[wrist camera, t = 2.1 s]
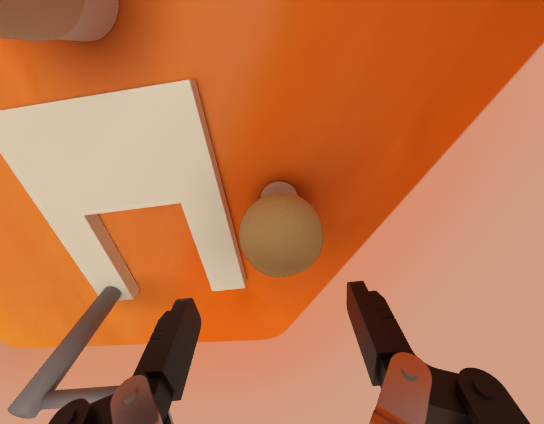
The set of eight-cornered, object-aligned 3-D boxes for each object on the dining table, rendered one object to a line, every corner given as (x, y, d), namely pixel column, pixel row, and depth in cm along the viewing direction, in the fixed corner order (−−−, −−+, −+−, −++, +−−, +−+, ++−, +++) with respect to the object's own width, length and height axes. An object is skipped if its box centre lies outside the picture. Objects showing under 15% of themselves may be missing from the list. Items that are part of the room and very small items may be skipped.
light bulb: (264, 230, 27) (261, 304, 18) (236, 182, 24) (215, 241, 15) (319, 208, 25) (343, 277, 17) (295, 154, 23) (309, 202, 14)
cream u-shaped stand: (195, 79, 20) (75, 79, 8) (246, 278, 30) (229, 408, 18) (-6, 112, 21) (-377, 156, 9) (110, 292, 31) (11, 422, 19)
